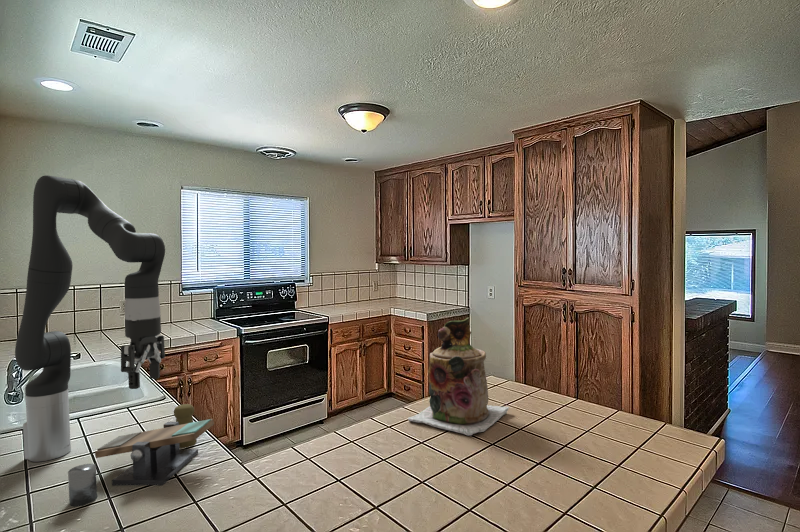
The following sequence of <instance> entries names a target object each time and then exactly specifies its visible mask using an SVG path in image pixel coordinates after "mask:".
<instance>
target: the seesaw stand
mask: <svg viewBox="0 0 800 532" xmlns="http://www.w3.org/2000/svg"><path fill="white" fill-rule="evenodd" d="M177 425H179V422H176V421H166V422H165V423H164V424H163V428H166V427H171V426H177ZM198 454H199V448H180V445H179V443H176V444H170V445H165V446H160V447H154V448H150V442H136V443H135V444H133V445H132V452H130V458H131V460H132V465H131V466H129V467H128V468H127V469H125V470H124V471H122V472H121V473H120V474H119V475H117V476H115V478H113V479H112V480H111V485H112V486H163V485H165V483H167V482H169V480H170V479H171V478H172V477H174V476H175V474H177V473H178V472H179V471H180V470H181V469H182V468H184V467H185V466H186V465H187V464H188V463H189V462H190V461H192V459H194V458H195V457H196V456H197V455H198Z"/></svg>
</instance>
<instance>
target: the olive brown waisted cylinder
mask: <svg viewBox="0 0 800 532" xmlns="http://www.w3.org/2000/svg"><path fill="white" fill-rule="evenodd" d="M194 413H195V407H194V406H193V405H192V404H191V403H190V404H189V403H184V404H182V403H181V404H179V405H177V406H176V407H174V411H173V415H174V417H175V422H179V425H182V424H187V423H192V422H194V419H193V418H194V417H193V415H194ZM197 442H198V441H197V439H196V440H192V441H187V442H181V443H179V445H180V449H186V448H189V446H190V447H192V446H194V445H196V444H197ZM185 447H186V448H185Z"/></svg>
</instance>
